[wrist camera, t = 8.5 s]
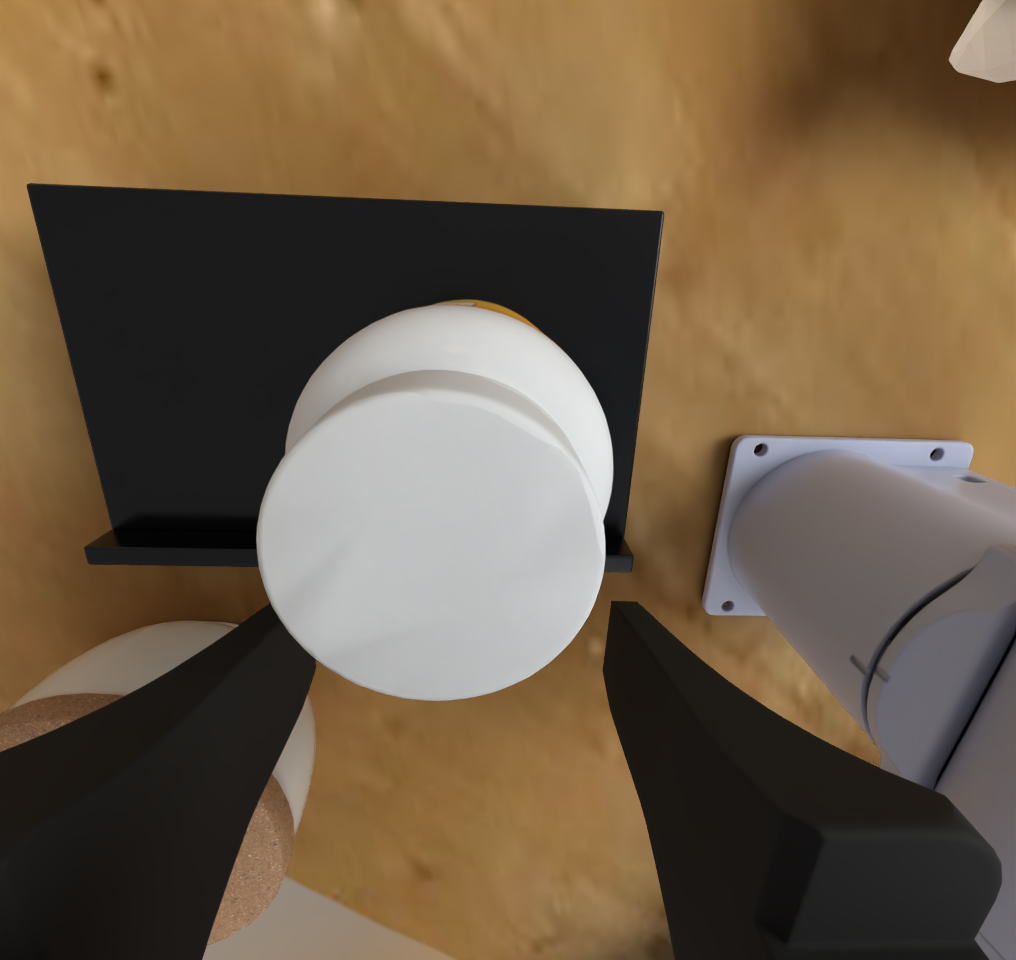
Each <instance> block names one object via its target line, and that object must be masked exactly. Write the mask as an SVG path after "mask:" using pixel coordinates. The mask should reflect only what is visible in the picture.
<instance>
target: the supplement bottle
mask: <svg viewBox="0 0 1016 960" xmlns="http://www.w3.org/2000/svg"><path fill="white" fill-rule="evenodd" d="M612 481H613V450H612V443H611V437H610V433H609V429H608V425H607V421H606V418H605V415H604V412H603V410H602V407H601V405H600V403H599V401H598V399H597V396H596V394H595V392H594V390H593V389H592V387H591V386H590V384H589V383H588V381H587V379H586V378H585V376H584V375H583V373H582V372H581V371H580V369H579V368H578V367H577V366H576V364H575V363H574V362H573V361H572V360H571V358H570V357H569V356H568V355H567V354H566V353H565V352H564V351H563V350H562V349H561V348H560V347H559V346H558V345H557V344H555V343H554V342H553V341H552V340H551V339H550V338H548V337H547V336H546V335H545V334H544V333H542V332H541V331H540V330H539V329H538V328H537V327H535V326H534V325H533V324H532V323H530V322H529V321H528V320H527V319H525V318H524V317H522V316H521V315H519V314H517V313H516V312H514V311H512V310H510V309H508V308H506V307H503V306H500V305H498V304H494V303H491V302H487V301H481V300H469V299H463V300H452V301H445V302H441V303H436V304H433V305H429V306H424V307H417V308H412V309H407V310H404V311H401V312H398V313H395V314H392V315H390V316H387V317H385V318H383V319H381V320H378V321H376V322H374V323H372V324H370V325H369V326H367V327H365V328H363V329H362V330H360V331H359V332H357V333H356V334H354V335H353V336H351V337H350V338H348V339H347V340H346V341H345V342H343V343H342V344H341V345H340V346H339V347H337V348H336V349H335V350H334V351H333V352H332V353H331V354H330V355H329V356H328V357H327V358H326V359H325V360H324V361H323V363H322V364H321V365H320V366H319V367H318V369H317V370H316V371H315V372H314V374H313V375H312V376H311V378H310V379H309V381H308V383H307V384H306V386H305V388H304V390H303V391H302V393H301V395H300V397H299V399H298V401H297V404H296V406H295V409H294V412H293V415H292V418H291V421H290V424H289V428H288V434H287V439H286V449H285V456H284V457H283V458H282V460H281V461H280V463H279V465H278V467H277V468H276V470H275V472H274V473H273V475H272V477H271V479H270V482H269V484H268V486H267V488H266V491H265V494H264V497H263V500H262V504H261V507H260V512H259V518H258V524H257V536H256V544H257V555H258V564H259V570H260V573H261V577H262V581H263V584H264V588H265V591H266V593H267V595H268V598H269V600H270V602H271V605H272V607H273V609H274V610H275V612H276V613H277V615H278V617H279V618H280V620H281V621H282V623H283V624H284V626H285V627H286V629H287V630H288V632H289V633H290V634H291V635H292V636H293V637H294V639H295V640H296V641H297V642H298V643H299V644H300V645H301V646H302V647H303V648H304V649H305V650H306V651H307V652H308V653H309V654H310V655H311V656H312V657H314V658H315V659H316V660H317V661H319V662H320V663H321V664H323V665H324V666H325V667H327V668H328V669H329V670H331V671H333V672H335V673H337V674H338V675H340V676H342V677H344V678H345V679H347V680H349V681H351V682H353V683H356V684H358V685H360V686H363V687H365V688H368V689H371V690H374V691H377V692H380V693H383V694H386V695H391V696H395V697H400V698H404V699H416V700H427V701H446V700H457V699H465V698H471V697H476V696H481V695H485V694H489V693H492V692H496V691H499V690H501V689H504V688H506V687H508V686H511V685H513V684H515V683H518V682H520V681H522V680H524V679H526V678H528V677H530V676H531V675H533V674H534V673H536V672H537V671H539V670H540V669H542V668H543V667H544V666H546V665H547V664H548V663H550V662H551V661H552V660H553V659H554V658H555V657H556V656H557V655H558V654H559V653H560V652H562V651H563V650H564V649H565V648H566V647H567V646H568V644H569V643H570V642H571V641H572V640H573V638H574V637H575V636H576V634H577V633H578V632H579V631H580V629H581V627H582V626H583V624H584V623H585V621H586V619H587V618H588V616H589V614H590V612H591V610H592V608H593V606H594V603H595V601H596V598H597V595H598V592H599V589H600V586H601V582H602V578H603V573H604V565H605V532H604V525H603V520H604V517H605V514H606V511H607V508H608V504H609V500H610V495H611V490H612Z"/></svg>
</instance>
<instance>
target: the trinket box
mask: <svg viewBox="0 0 1016 960" xmlns="http://www.w3.org/2000/svg"><path fill="white" fill-rule="evenodd" d="M237 626H239V625H238V624H233V623H228V622H207V621H191V620H188V621H173V622H166V623H160V624H155V625H150V626H146V627H142V628H139V629H136V630H133V631H130V632H128V633H125V634H122V635H120V636H117V637H114V638H112V639H109V640H107V641H105V642H103V643H101V644H100V645H98V646H96V647H94V648H92V649H90V650H89V651H87V652H85V653H83V654H82V655H80V656H78V657H77V658H75V659H73V660H71V661H70V662H68V663H67V664H65V665H64V666H62V667H61V668H59V669H58V670H56V671H55V672H54V673H52V674H51V675H49V676H48V677H46V678H45V679H44V680H42V681H41V682H40V683H39V684H37V685H36V686H35V687H34V688H32V689H31V690H30V691H29V692H27V693H26V694H25V695H24V696H22V697H21V698H20V699H19V700H18V701H17V702H16V703H14V704H13V705H12V706H11V707H10V708H9V709H8V710H7V711H5V712H4V713H2V714H0V752H1V751H4V750H6V749H9V748H11V747H14V746H17V745H19V744H21V743H24V742H26V741H29V740H31V739H34V738H36V737H38V736H41V735H43V734H46V733H48V732H50V731H53V730H55V729H57V728H59V727H61V726H63V725H66V724H68V723H70V722H72V721H74V720H76V719H78V718H81V717H83V716H85V715H87V714H89V713H91V712H93V711H96V710H98V709H100V708H102V707H104V706H106V705H108V704H110V703H112V702H114V701H116V700H118V699H120V698H122V697H124V696H126V695H128V694H129V693H131V692H133V691H135V690H137V689H139V688H141V687H142V686H144V685H146V684H148V683H150V682H151V681H153V680H155V679H157V678H158V677H160V676H162V675H163V674H165V673H167V672H169V671H170V670H172V669H173V668H175V667H177V666H178V665H180V664H181V663H183V662H184V661H186V660H188V659H189V658H191V657H192V656H194V655H195V654H197V653H199V652H200V651H202V650H203V649H205V648H206V647H208V646H210V645H211V644H213V643H214V642H215V641H217V640H218V639H220V638H221V637H223V636H224V635H226V634H227V633H228V632H230V631H231V630H233V629H234V628H236V627H237ZM315 749H316V729H315V719H314V713H313V708H312V704H311V701H310V698H309V695H308V694H307V697H306V700H305V703H304V706H303V709H302V711H301V713H300V715H299V717H298V720H297V722H296V724H295V726H294V728H293V730H292V732H291V735H290V737H289V739H288V741H287V743H286V745H285V747H284V749H283V751H282V754H281V756H280V758H279V760H278V762H277V764H276V766H275V768H274V770H273V772H272V774H271V777H270V779H269V781H268V783H267V785H266V787H265V789H264V791H263V793H262V795H261V798H260V800H259V802H258V804H257V807H256V809H255V811H254V813H253V816H252V818H251V820H250V823H249V825H248V828H247V831H246V834H245V836H244V839H243V842H242V845H241V847H240V850H239V853H238V856H237V858H236V861H235V864H234V867H233V869H232V872H231V875H230V878H229V881H228V884H227V887H226V889H225V892H224V895H223V898H222V901H221V904H220V907H219V910H218V913H217V916H216V919H215V922H214V924H213V927H212V930H211V933H210V937H209V940H208V943H207V945H210V944H213V943H216V942H218V941H220V940H222V939H224V938H227V937H229V936H231V935H233V934H234V933H236V932H238V931H239V930H241V929H242V928H244V927H246V926H247V925H249V924H250V923H251V922H252V921H253V920H254V919H256V918H257V916H259V915H260V914H261V913H262V912H263V911H264V910H265V909H266V908H267V907H268V906H269V904H270V903H271V901H272V900H273V899H274V897H275V896H276V895H277V893H278V890H279V888H280V886H281V883H282V881H283V879H284V876H285V873H286V871H287V868H288V865H289V862H290V859H291V855H292V849H293V844H294V838H295V834H296V832H297V829H298V826H299V823H300V820H301V817H302V814H303V811H304V807H305V804H306V801H307V797H308V792H309V787H310V782H311V778H312V772H313V767H314V759H315Z"/></svg>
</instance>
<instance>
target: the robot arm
mask: <svg viewBox="0 0 1016 960" xmlns="http://www.w3.org/2000/svg"><path fill="white" fill-rule="evenodd" d="M761 443H762V449H761V451H760V452H759V453H755V454H754V449H755V447H756V446H757V445H758V444H761ZM934 449H936V450H935V453H934V455H933V456H931V457H930V454H931V452H932V451H933V450H934ZM973 451H974V450H973V446H972V445H971V444H969V443H966V442H963V441H959V440H930V439H891V438H852V437H814V436H775V435H742V436H740V437H738V438H736V439H735V441H734V442H733V444H732V446H731V451H730V456H729V461H728V466H727V472H726V477H725V482H724V487H723V493H722V498H721V503H720V508H719V514H718V519H717V524H716V530H715V535H714V540H713V545H712V551H711V556H710V561H709V566H708V572H707V577H706V582H705V587H704V593H703V598H702V606H703V608H704V609H705V611H706V612H707V613H708V614H710V615H733V616H767V617H768V618H769V619H770V620H771V622H772V623H773V624H774V625H775V626H776V628H777V629H778V630H779V631H780V632H781V633H782V635H783V636H784V637H785V638H786V639H787V641H788V642H789V643H790V644H791V645H792V647H793V648H794V649H795V650H796V651H797V652H798V654H799V655H800V656H801V657H802V658H803V660H804V661H805V662H806V663H807V664H808V666H809V667H810V668H811V669H812V670H813V671H814V673H815V674H816V675H817V676H818V677H819V679H820V680H821V681H822V682H823V683H824V684H825V686H826V687H827V688H828V689H829V690H830V692H831V693H832V694H833V695H834V696H835V698H836V699H837V700H838V701H839V702H840V703H841V705H842V706H843V707H844V708H845V709H846V711H847V712H848V713H849V714H850V715H851V717H852V718H853V719H854V720H855V721H856V722H857V724H858V725H859V726H860V727H861V728H862V730H863V731H864V732H865V733H866V734H867V735H868V737H869V738H870V739H871V740H872V741H873V743H874V744H875V745H876V746H877V747H878V750H879V752H880V758H881V762H880V768H879V767H876V766H874V765H872V764H870V763H868V762H866V761H864V760H862V759H860V758H858V757H856V756H853V755H851V754H849V753H847V752H845V751H843V750H841V749H839V748H837V747H835V746H833V745H831V744H829V743H828V742H826V741H824V740H822V739H820V738H818V737H816V736H814V735H812V734H811V733H809V732H807V731H806V730H804V729H802V728H800V727H799V726H797V725H795V724H793V723H792V722H790V721H788V720H786V719H785V718H783V717H781V716H780V715H778V714H776V713H775V712H773V711H772V710H770V709H768V708H767V707H765V706H764V705H762V704H761V703H759V702H758V701H756V700H755V699H753V698H752V697H750V696H749V695H747V694H746V693H744V692H743V691H742V690H740V689H739V688H737V687H736V686H735V685H733V684H732V683H730V682H729V681H728V680H726V679H725V678H724V677H723V676H721V675H720V674H719V673H717V672H716V671H715V670H714V669H712V668H711V667H710V666H709V665H707V664H706V663H705V662H704V661H702V660H701V659H700V658H699V657H698V656H696V655H695V654H694V653H693V652H692V651H691V650H689V649H688V648H687V647H686V646H685V645H684V644H683V643H681V642H680V641H679V640H678V639H677V638H676V637H675V636H674V635H672V634H671V633H670V632H669V631H668V630H667V629H666V628H665V627H664V626H663V625H662V624H661V623H659V622H658V621H657V620H656V619H655V618H654V617H653V616H652V615H651V614H650V613H649V612H648V611H647V610H645V609H644V608H643V607H642V606H641V605H640V604H639V603H637V602H627V601H611V609H610V616H609V624H608V632H607V640H606V648H605V656H604V664H603V675H604V680H605V686H606V691H607V696H608V701H609V706H610V711H611V714H612V717H613V720H614V723H615V727H616V730H617V733H618V736H619V739H620V742H621V745H622V748H623V751H624V754H625V757H626V760H627V763H628V766H629V769H630V772H631V775H632V778H633V781H634V784H635V788H636V791H637V794H638V797H639V800H640V803H641V806H642V810H643V814H644V817H645V821H646V824H647V829H648V833H649V838H650V842H651V846H652V851H653V855H654V860H655V864H656V869H657V873H658V878H659V883H660V887H661V892H662V897H663V902H664V906H665V911H666V916H667V921H668V926H669V931H670V936H671V941H672V946H673V952H674V957H675V960H1016V488H1015V487H1013V486H1010V485H1007V484H1005V483H1002V482H999V481H997V480H994V479H991V478H989V477H986V476H983V475H981V474H978V473H976V472H973V471H970V470H968V467H969V465H970V462H971V459H972V456H973ZM726 601H730V602H729V604H728V605H726V606H722V605H723V603H724V602H726ZM315 669H316V664H315V658H314V657H312V656H311V655H310V654H309V653H308V652H307V651H306V650H305V649H304V648H303V647H302V646H301V645H300V644H299V643H298V642H297V641H296V640H295V639H294V637H293V636H292V635H291V634H290V633H289V632H288V630H287V629H286V627H285V626H284V624H283V623H282V621H281V620H280V618H279V617H278V615H277V613H276V612H275V610H274V609H273V607H272V605H271V603H270V604H269V605H267V606H266V607H264V608H263V609H261V610H260V611H258V612H257V613H256V614H254V615H253V616H251V617H250V618H249V619H247V620H246V621H244V622H243V623H241V624H240V625H239V626H237V627H236V628H234V629H233V630H231V631H230V632H228V633H227V634H226V635H224V636H223V637H221V638H220V639H218V640H217V641H215V642H214V643H213V644H211V645H210V646H208V647H206V648H205V649H203V650H202V651H200V652H199V653H197V654H195V655H194V656H192V657H191V658H189V659H188V660H186V661H184V662H183V663H181V664H180V665H178V666H177V667H175V668H173V669H172V670H170V671H169V672H167V673H165V674H163V675H162V676H160V677H158V678H157V679H155V680H153V681H151V682H150V683H148V684H146V685H144V686H142V687H141V688H139V689H137V690H135V691H133V692H131V693H129V694H128V695H126V696H124V697H122V698H120V699H118V700H116V701H114V702H112V703H110V704H108V705H106V706H104V707H102V708H100V709H98V710H96V711H93V712H91V713H89V714H87V715H85V716H83V717H81V718H78V719H76V720H74V721H72V722H70V723H68V724H66V725H63V726H61V727H59V728H57V729H55V730H53V731H50V732H48V733H46V734H43V735H41V736H38V737H36V738H34V739H31V740H29V741H26V742H24V743H21V744H19V745H17V746H14V747H11V748H9V749H6V750H4V751H1V752H0V960H202V958H203V955H204V952H205V949H206V946H207V943H208V940H209V937H210V933H211V930H212V927H213V924H214V922H215V919H216V916H217V913H218V910H219V907H220V904H221V901H222V898H223V895H224V892H225V889H226V887H227V884H228V881H229V878H230V875H231V872H232V869H233V867H234V864H235V861H236V858H237V856H238V853H239V850H240V847H241V845H242V842H243V839H244V836H245V834H246V831H247V828H248V825H249V823H250V820H251V818H252V816H253V813H254V811H255V809H256V807H257V804H258V802H259V800H260V798H261V795H262V793H263V791H264V789H265V787H266V785H267V783H268V781H269V779H270V777H271V774H272V772H273V770H274V768H275V766H276V764H277V762H278V760H279V758H280V756H281V754H282V751H283V749H284V747H285V745H286V743H287V741H288V739H289V737H290V735H291V732H292V730H293V728H294V726H295V724H296V722H297V720H298V717H299V715H300V713H301V711H302V709H303V706H304V703H305V700H306V697H307V694H308V691H309V688H310V685H311V682H312V678H313V675H314V672H315Z"/></svg>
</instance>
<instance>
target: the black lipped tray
mask: <svg viewBox="0 0 1016 960" xmlns="http://www.w3.org/2000/svg"><path fill="white" fill-rule="evenodd" d="M27 190H28V194H29V198H30V202H31V206H32V210H33V214H34V218H35V222H36V226H37V230H38V234H39V238H40V242H41V246H42V250H43V254H44V258H45V262H46V266H47V270H48V274H49V278H50V282H51V286H52V290H53V294H54V298H55V302H56V306H57V310H58V314H59V318H60V322H61V326H62V330H63V334H64V338H65V342H66V346H67V350H68V354H69V358H70V362H71V366H72V370H73V374H74V378H75V382H76V386H77V390H78V394H79V398H80V402H81V406H82V410H83V414H84V418H85V422H86V426H87V430H88V434H89V438H90V442H91V446H92V450H93V454H94V458H95V462H96V466H97V470H98V474H99V478H100V482H101V486H102V490H103V494H104V498H105V502H106V505H107V509H108V513H109V517H110V521H111V525H112V529H113V530H110V531H109V532H107V533H106V534H104V535H102V536H101V537H99V538H98V539H96V540H95V541H93V542H91V543H90V544H88V545H87V546H85V547H84V550H85V554H86V557H87V561H88V563H89V564H92V565H161V566H229V567H259V564H258V555H257V544H256V536H257V524H258V518H259V512H260V507H261V504H262V500H263V497H264V494H265V491H266V488H267V486H268V484H269V482H270V479H271V477H272V475H273V473H274V472H275V470H276V468H277V467H278V465H279V463H280V461H281V460H282V458H283V457H284V456H285V449H286V439H287V434H288V428H289V424H290V421H291V418H292V415H293V412H294V409H295V406H296V404H297V401H298V399H299V397H300V395H301V393H302V391H303V390H304V388H305V386H306V384H307V383H308V381H309V379H310V378H311V376H312V375H313V374H314V372H315V371H316V370H317V369H318V367H319V366H320V365H321V364H322V363H323V361H324V360H325V359H326V358H327V357H328V356H329V355H330V354H331V353H332V352H333V351H334V350H335V349H336V348H337V347H339V346H340V345H341V344H342V343H343V342H345V341H346V340H347V339H348V338H350V337H351V336H353V335H354V334H356V333H357V332H359V331H360V330H362V329H363V328H365V327H367V326H369V325H370V324H372V323H374V322H376V321H378V320H381V319H383V318H385V317H387V316H390V315H392V314H395V313H398V312H401V311H404V310H407V309H412V308H417V307H424V306H429V305H433V304H436V303H441V302H445V301H452V300H463V299H469V300H481V301H487V302H491V303H494V304H498V305H500V306H503V307H506V308H508V309H510V310H512V311H514V312H516V313H517V314H519V315H521V316H522V317H524V318H525V319H527V320H528V321H529V322H530V323H532V324H533V325H534V326H535V327H537V328H538V329H539V330H540V331H541V332H542V333H544V334H545V335H546V336H547V337H548V338H550V339H551V340H552V341H553V342H554V343H555V344H557V345H558V346H559V347H560V348H561V349H562V350H563V351H564V352H565V353H566V354H567V355H568V356H569V357H570V358H571V360H572V361H573V362H574V363H575V364H576V366H577V367H578V368H579V369H580V371H581V372H582V373H583V375H584V376H585V378H586V379H587V381H588V383H589V384H590V386H591V387H592V389H593V390H594V392H595V394H596V396H597V399H598V401H599V403H600V405H601V407H602V410H603V412H604V415H605V418H606V421H607V425H608V429H609V433H610V437H611V443H612V450H613V481H612V490H611V495H610V500H609V504H608V508H607V511H606V514H605V517H604V520H603V525H604V532H605V565H604V572H631V571H632V566H633V558H634V556H633V554H632V552H631V550H630V548H629V546H628V545H627V543H626V541H625V539H624V535H625V527H626V519H627V511H628V503H629V495H630V486H631V478H632V470H633V462H634V454H635V446H636V438H637V430H638V422H639V414H640V406H641V398H642V390H643V382H644V374H645V366H646V357H647V349H648V341H649V333H650V325H651V317H652V309H653V301H654V293H655V285H656V277H657V269H658V261H659V253H660V245H661V237H662V228H663V220H664V212H662V211H651V210H628V209H605V208H582V207H559V206H537V205H514V204H491V203H468V202H445V201H423V200H400V199H377V198H354V197H331V196H309V195H286V194H263V193H240V192H217V191H195V190H172V189H149V188H126V187H103V186H81V185H58V184H35V183H30V184H27Z"/></svg>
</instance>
